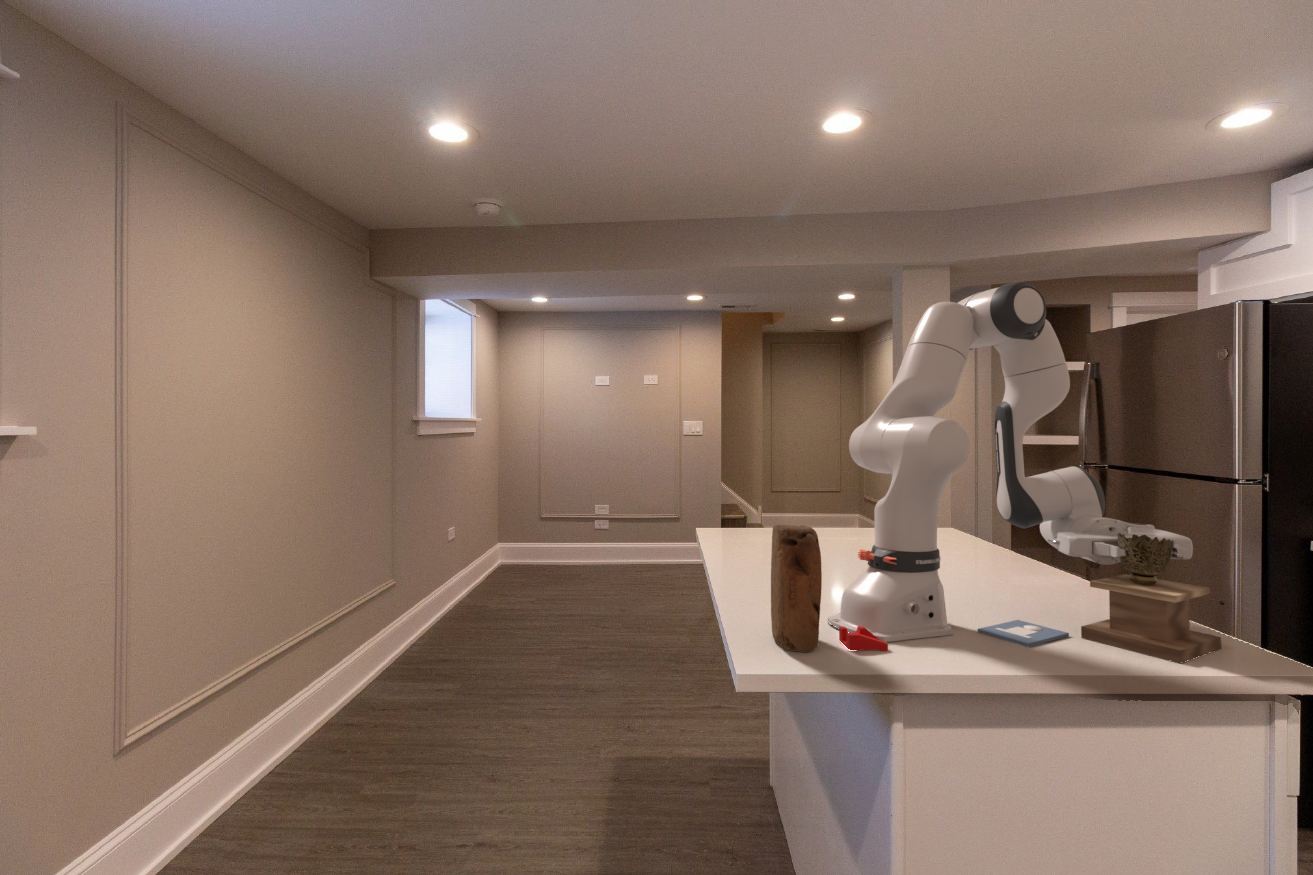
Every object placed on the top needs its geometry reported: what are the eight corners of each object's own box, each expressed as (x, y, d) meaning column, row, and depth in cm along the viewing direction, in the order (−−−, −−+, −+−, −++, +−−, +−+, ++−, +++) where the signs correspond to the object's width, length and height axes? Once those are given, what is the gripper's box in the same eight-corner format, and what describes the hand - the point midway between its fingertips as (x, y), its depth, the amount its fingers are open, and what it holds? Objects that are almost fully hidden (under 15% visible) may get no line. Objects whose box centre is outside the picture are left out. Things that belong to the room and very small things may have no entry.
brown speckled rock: (769, 633, 107) (768, 522, 107) (811, 634, 107) (810, 522, 107) (779, 654, 96) (778, 530, 96) (826, 655, 96) (825, 530, 96)
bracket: (849, 653, 98) (849, 635, 98) (839, 644, 102) (839, 626, 103) (888, 652, 98) (887, 634, 98) (876, 643, 103) (875, 625, 103)
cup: (1150, 580, 105) (1152, 534, 105) (1183, 590, 98) (1185, 541, 98) (1105, 576, 106) (1107, 531, 106) (1134, 586, 98) (1136, 538, 98)
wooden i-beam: (1180, 663, 92) (1179, 598, 92) (1081, 637, 104) (1080, 580, 104) (1221, 648, 98) (1220, 588, 98) (1122, 626, 111) (1122, 572, 111)
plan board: (1028, 647, 99) (1028, 642, 100) (977, 632, 107) (977, 628, 107) (1068, 636, 105) (1068, 632, 105) (1017, 622, 113) (1017, 619, 113)
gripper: (1042, 522, 116) (1084, 533, 102) (1158, 524, 113) (1217, 535, 99) (1043, 555, 116) (1085, 570, 102) (1158, 557, 113) (1217, 573, 99)
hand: (1151, 553), depth 101 cm, fingers open, 8 cm apart
